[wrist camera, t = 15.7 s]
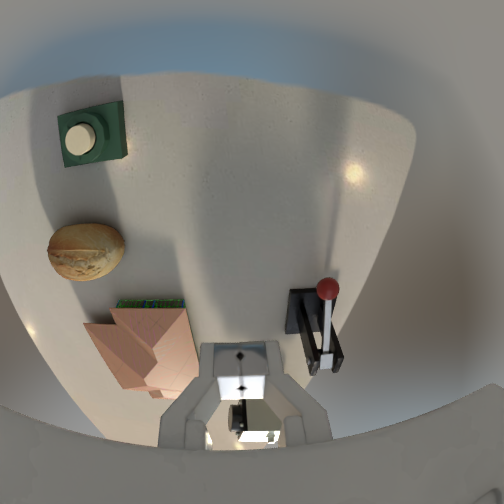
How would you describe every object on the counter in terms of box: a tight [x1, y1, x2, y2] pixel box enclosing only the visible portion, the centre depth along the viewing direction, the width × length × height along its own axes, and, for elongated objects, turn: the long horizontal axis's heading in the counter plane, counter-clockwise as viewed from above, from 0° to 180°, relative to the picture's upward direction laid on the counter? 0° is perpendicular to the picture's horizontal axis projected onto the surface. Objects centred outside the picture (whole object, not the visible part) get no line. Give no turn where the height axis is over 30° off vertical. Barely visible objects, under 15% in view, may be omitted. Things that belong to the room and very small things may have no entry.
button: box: [65, 124, 96, 155], centre depth 29 cm, size 4×4×2 cm
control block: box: [58, 101, 128, 168], centre depth 31 cm, size 10×8×4 cm
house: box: [83, 299, 199, 400], centre depth 54 cm, size 23×33×8 cm
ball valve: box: [228, 398, 282, 444], centre depth 59 cm, size 18×8×18 cm, turn 78°
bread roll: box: [47, 223, 125, 281], centre depth 38 cm, size 10×15×8 cm, turn 94°
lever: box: [317, 277, 339, 370], centre depth 43 cm, size 15×4×4 cm, turn 179°
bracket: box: [285, 288, 344, 376], centre depth 48 cm, size 11×9×14 cm
